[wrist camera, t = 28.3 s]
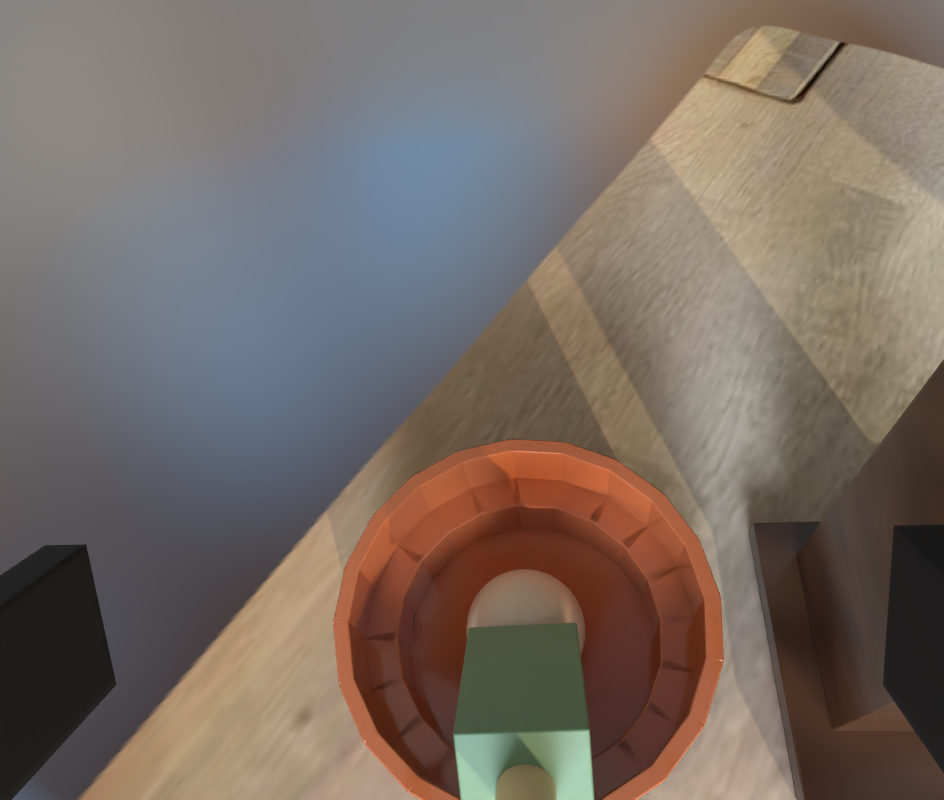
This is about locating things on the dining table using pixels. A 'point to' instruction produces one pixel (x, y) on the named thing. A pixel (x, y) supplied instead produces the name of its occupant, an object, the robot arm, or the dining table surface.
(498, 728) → the green and beige rod
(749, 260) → the dining table surface
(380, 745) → the bowl
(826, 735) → the stand
